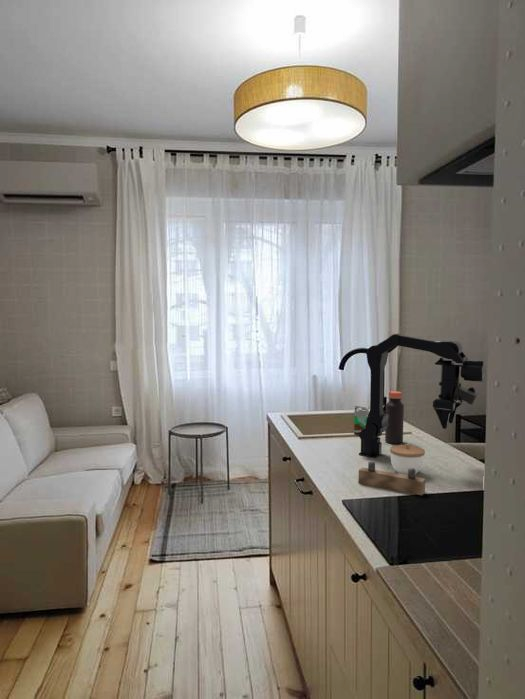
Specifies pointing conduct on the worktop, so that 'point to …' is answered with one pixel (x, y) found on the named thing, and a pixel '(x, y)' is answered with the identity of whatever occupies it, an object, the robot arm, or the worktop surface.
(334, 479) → the worktop surface
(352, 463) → the worktop surface
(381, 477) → the stop bar
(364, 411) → the food container
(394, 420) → the bottle
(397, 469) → the lidded jar
